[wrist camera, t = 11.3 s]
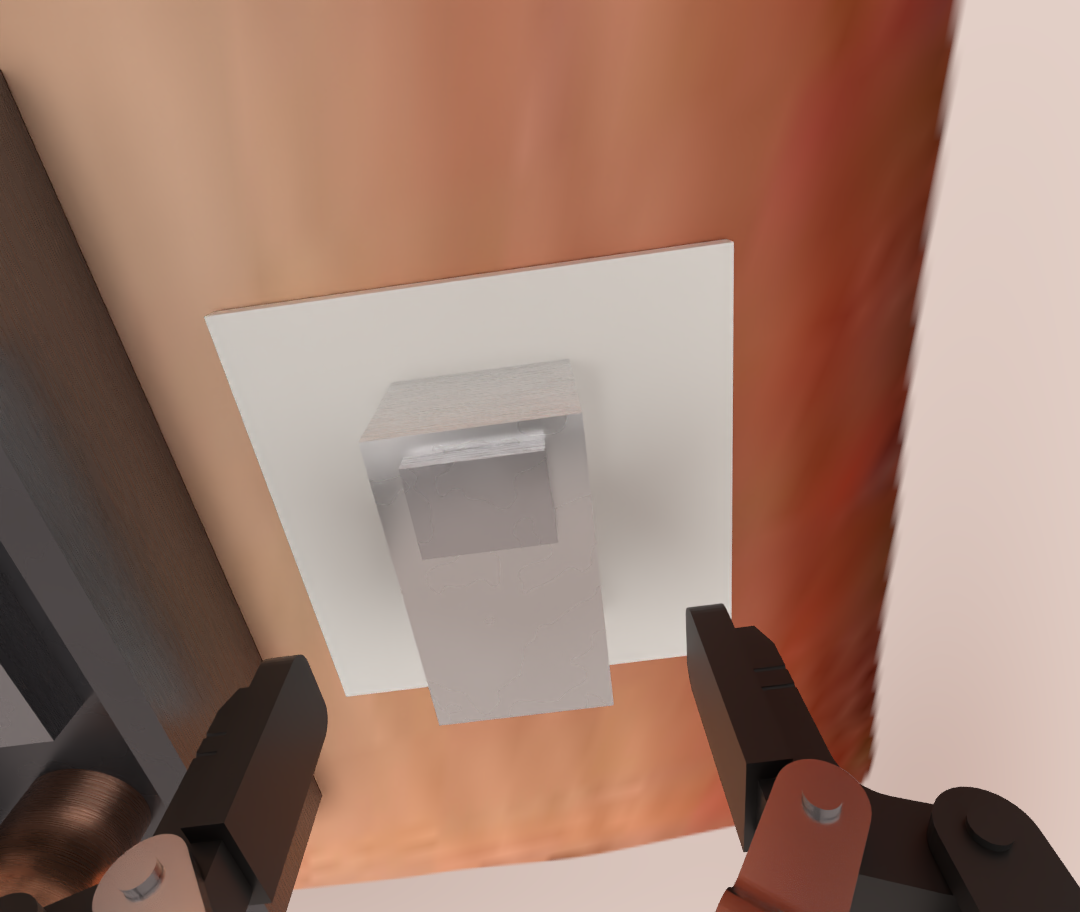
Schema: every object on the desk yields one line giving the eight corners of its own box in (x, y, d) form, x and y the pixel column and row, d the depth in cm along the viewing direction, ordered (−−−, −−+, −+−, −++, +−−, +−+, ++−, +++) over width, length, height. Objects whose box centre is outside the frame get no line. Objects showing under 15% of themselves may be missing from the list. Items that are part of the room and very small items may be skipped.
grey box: (391, 382, 17) (351, 454, 13) (569, 358, 17) (584, 423, 13) (453, 628, 21) (437, 743, 17) (597, 611, 21) (616, 722, 17)
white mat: (214, 311, 17) (203, 316, 16) (726, 239, 16) (733, 242, 16) (350, 684, 23) (346, 696, 22) (725, 638, 23) (731, 650, 22)
